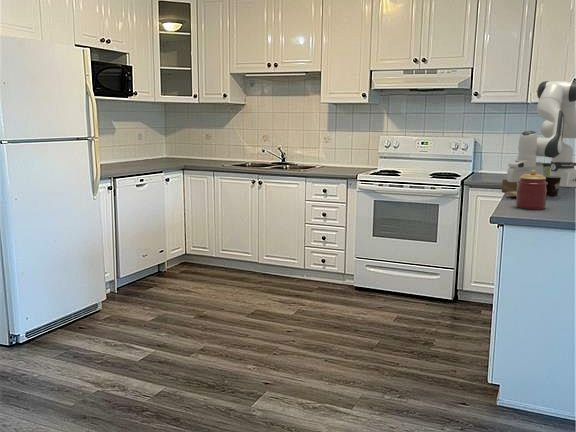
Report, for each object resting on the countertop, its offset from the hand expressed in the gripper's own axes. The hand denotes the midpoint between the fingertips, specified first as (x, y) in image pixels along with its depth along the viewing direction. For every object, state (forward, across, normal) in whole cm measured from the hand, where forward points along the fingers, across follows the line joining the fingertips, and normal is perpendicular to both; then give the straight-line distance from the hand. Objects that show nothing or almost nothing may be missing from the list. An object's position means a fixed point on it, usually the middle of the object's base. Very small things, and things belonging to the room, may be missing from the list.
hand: (524, 190), depth 285 cm
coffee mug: (+4, -18, -3) cm, 18 cm away
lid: (+3, 0, 0) cm, 3 cm away
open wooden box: (+4, -8, -14) cm, 17 cm away
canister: (+4, +16, +24) cm, 29 cm away
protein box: (+4, -24, -23) cm, 33 cm away
